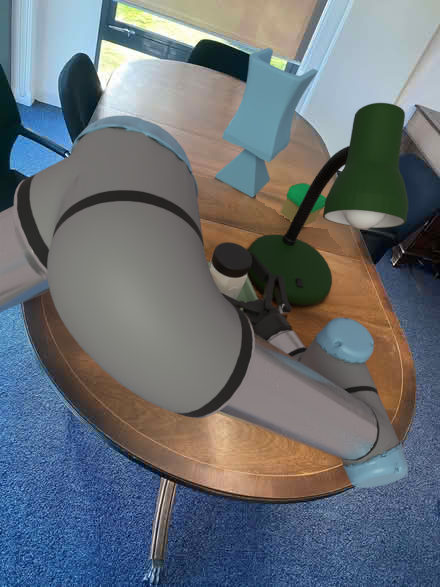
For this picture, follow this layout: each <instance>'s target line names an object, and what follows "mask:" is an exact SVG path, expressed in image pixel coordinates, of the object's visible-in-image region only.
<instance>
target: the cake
mask: <svg viewBox="0 0 440 587" xmlns="http://www.w3.org/2000/svg"><path fill="white" fill-rule="evenodd" d="M310 185H311V184H308V183H304V182H302V183H300V182H299V183H295V184H293V185H291V186H290V187H289V188H288V190H287V192H286V199H285V200H284V203H283V205H282V207H281V209H280V212H279V213H280V214H282V215H283V217H284V218H286V219H288V220H289V221H290V222H292V221H293V219H294V217H295V215H296V213H297V211H298V209H299V207H300V205H301V203H302V201H303V199H304V197H305V195H306V193H307V191H308V189H309V187H310ZM326 198H327V196H324V195H323V194H322V193H321V194H320V196H319V198H318V200H317V202H316V203H315V205H314V207H313V209H312V211H311V213H310V215H309V216H308V218H307V220H306V222H305V224H304V226H303V227H306V226H308V225H310V224H313V223H314V222H316V220H317V218H318V216H319V215H320V213H321V211H322V210H324V206H325V200H326Z"/></svg>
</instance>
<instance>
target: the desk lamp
mask: <svg viewBox="0 0 440 587" xmlns="http://www.w3.org/2000/svg"><path fill="white" fill-rule="evenodd" d="M405 118H406V111H405V110H404V109H403V108H402V107H400V106H399V105H396V104H394V103H388V102H374V103H373V102H372V103H368V104H366V105H363V106H361V107H360V108H359V109H358V110H357V111H356V112H355V114H354V117H353V122H352V127H351V128H352V129H351V134H350V140H349V145H348V146H346V147H343V148H341V149H340V150H338V151H337V152H335V153H334V154H333V155H332V156H331V157H330V158H329V159H328V160H327V161H326V162H325V163H324V165H323V166H322V167H321V168H320V170H319V171H318V173H317V174H316V176H314V179H313V180H312V182H311V183H310V184H309V185H310V187H309V189H308V191H307V193H306V195H305V197H304V199H303V201H302V203H301V205H300V207H299V209H298V211H297V213H296V215H295V217H294V219H293V221H291V222H290V225H289V227H288V229H287V231H286V232H285V233H284V235H283V234H266V235H265V234H264V235H262V236H259V237H257V238H256V239H255V240H253V241H252V242H251V244H250V246H249V247H248V249H247V251H248V252H249V253H250V254H251V253H254V254H255V255H256V257H257V258H258V259H259V261H260V262H261V264H262V265H265V266H266V267H267V269H268V270H269V271H270V273H271V274H274V275H275V276H278V275H282V276H283V278H284V284H285V289H286V294H287V299H288V302H289V304H290V306H291V307H294V308H311V307H314V306H317V305H320V304H321V303H322V302H324V300H325V299H326V298H327V296H328V295H329V293H330V291H331V288H332V285H333V276H332V272H331V268H330V266H329V263H328V262H327V260H326V258H325V257H324V256H323V255H322V254H321V253H320V252H319V251H318V250H317V249H316V248H315V247H313V246H312V245H310V244H309V243H308V242H305V241H303V240H301V239H298V237H299V235H300V233H301V231H302V229H303V226H304V224H305V222H306V220H307V218H308V216H309V215H310V213H311V211H312V209H313V207H314V205H315V203H316V202H317V200H318V198H319V196H320V194H321V195H322V193H323V191H324V189H325V188H326V187H327V185H328V184H329V183H330V181H331V180H332V178H333V177H334V176H335V175H336V174H337V172H338V171H339V170H340V169H342V170H341V171H340V172H339V173H338V175H337V177H336V178H335V179H334V182H333V184H332V186H331V187H330V189H329V192H328V194H327V196H326V200H325V206H324V208H323V213H322V218H323V219H324V220H326V221H328V222H331V223H335V224H338V225H342V226H343V225H344V226H349V227H353V228H354V229H358V230H369V229H389V228H395V227H401V226H403V225H405V224H406V223H407V218H408V213H409V205H410V204H409V197H408V192H407V188H406V185H405V180H404V178H403V175H402V173H401V172H400V154H401V145H402V138H403V132H404V124H405ZM304 227H305V226H304ZM247 276H248V278H249V280H250V282H251V284H252V286H253V287H254V288H255V289H256V290H258V292H259V293H260V294H262V295H264V289H265V283H266V280H265V282H263V283H261V281H260V280H259V278H258V277H257V276H256V274H255V273H254V271H253V270H252V268H251V267H250V269H249V271H248V273H247ZM272 301H273V302H276V303H277V300H276V294H275V288H274V286H273V293H272Z"/></svg>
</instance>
